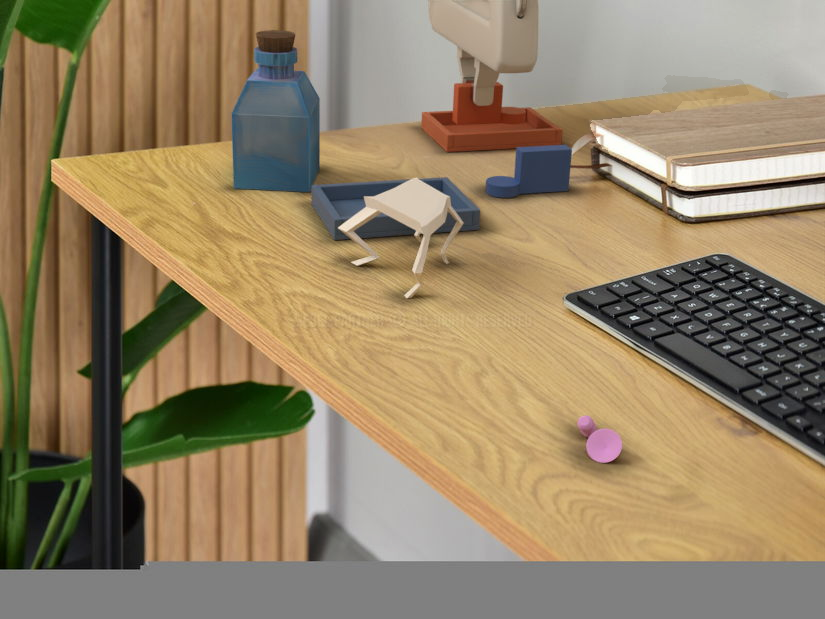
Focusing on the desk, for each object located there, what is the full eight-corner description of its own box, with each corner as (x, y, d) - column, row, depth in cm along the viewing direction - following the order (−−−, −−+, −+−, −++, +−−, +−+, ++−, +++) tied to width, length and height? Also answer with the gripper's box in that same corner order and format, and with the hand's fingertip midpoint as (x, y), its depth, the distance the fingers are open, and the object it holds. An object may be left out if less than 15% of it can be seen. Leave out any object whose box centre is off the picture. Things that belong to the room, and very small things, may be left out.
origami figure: (326, 246, 86) (326, 180, 84) (436, 236, 89) (439, 172, 87) (374, 312, 76) (376, 239, 74) (497, 299, 79) (502, 228, 77)
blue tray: (446, 195, 98) (447, 176, 97) (479, 230, 91) (480, 209, 90) (311, 204, 95) (311, 184, 94) (334, 240, 88) (334, 219, 87)
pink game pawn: (606, 479, 61) (634, 458, 62) (600, 469, 60) (629, 447, 60) (571, 436, 63) (599, 415, 63) (565, 426, 62) (593, 404, 62)
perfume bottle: (319, 169, 103) (319, 28, 98) (309, 192, 97) (308, 43, 93) (248, 165, 103) (244, 25, 99) (233, 188, 98) (229, 40, 93)
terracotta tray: (529, 123, 119) (530, 107, 119) (561, 146, 112) (562, 129, 111) (421, 128, 116) (421, 111, 116) (446, 152, 109) (447, 135, 108)
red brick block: (458, 126, 111) (460, 88, 110) (449, 119, 114) (451, 81, 112) (529, 123, 113) (532, 86, 112) (519, 116, 116) (521, 79, 114)
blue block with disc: (558, 183, 102) (562, 142, 100) (572, 193, 99) (575, 151, 98) (480, 188, 100) (483, 146, 98) (492, 198, 97) (494, 156, 96)
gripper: (563, -37, 98) (549, 128, 104) (481, -68, 116) (473, 74, 122) (490, -36, 97) (481, 131, 102) (418, -68, 115) (413, 76, 120)
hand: (476, 100), depth 112 cm, fingers closed on red brick block
